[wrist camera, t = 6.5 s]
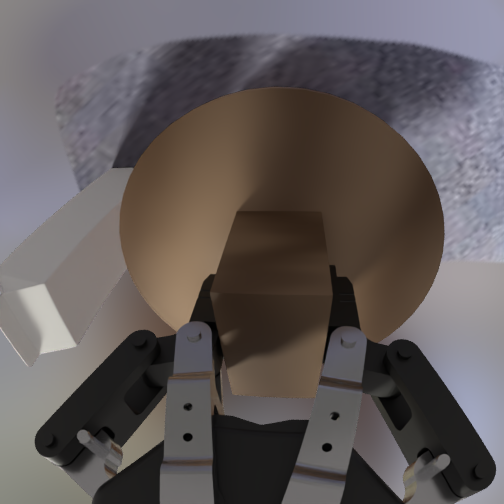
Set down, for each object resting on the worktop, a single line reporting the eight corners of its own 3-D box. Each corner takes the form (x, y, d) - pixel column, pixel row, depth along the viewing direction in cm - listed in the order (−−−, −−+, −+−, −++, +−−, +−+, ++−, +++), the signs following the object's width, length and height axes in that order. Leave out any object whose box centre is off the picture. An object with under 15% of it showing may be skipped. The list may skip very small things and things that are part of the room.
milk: (158, 166, 31) (16, 318, 13) (165, 216, 34) (60, 382, 16) (110, 167, 31) (-33, 299, 13) (119, 215, 35) (6, 358, 17)
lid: (461, 103, 10) (552, 148, 5) (397, 353, 19) (411, 431, 14) (97, 110, 12) (3, 155, 7) (167, 346, 21) (141, 418, 16)
